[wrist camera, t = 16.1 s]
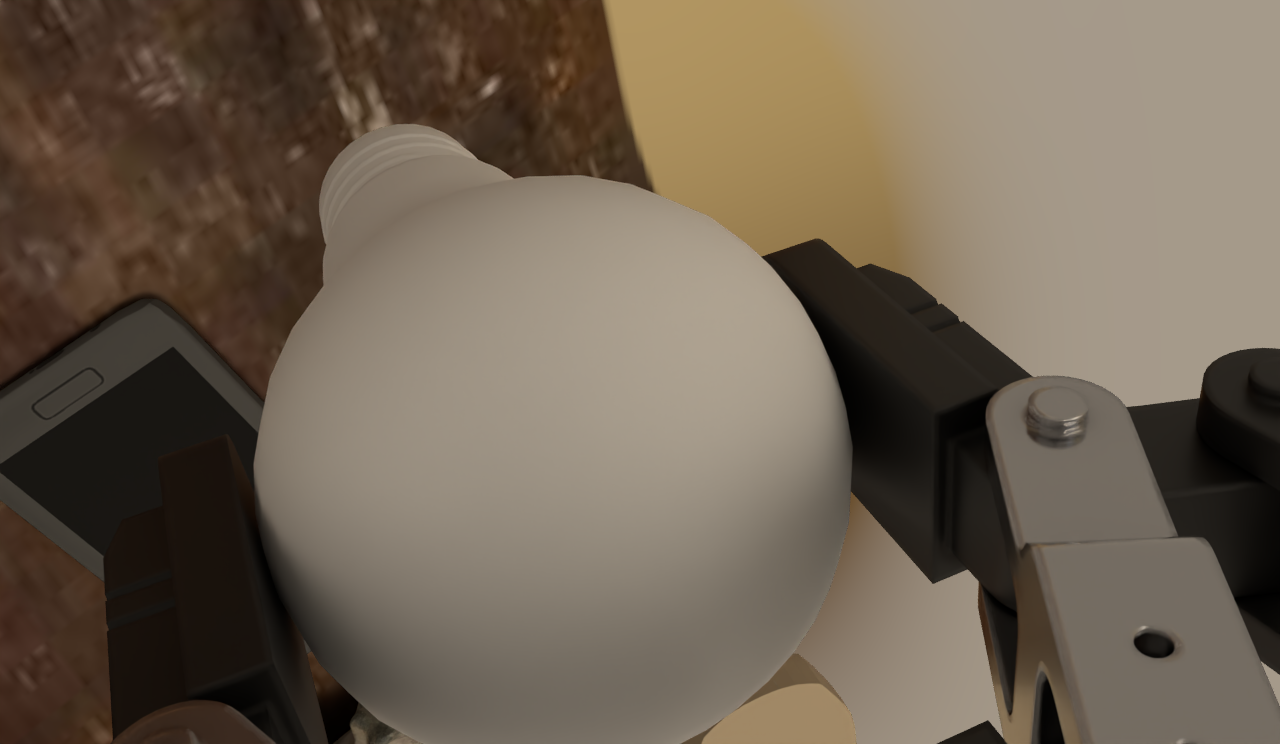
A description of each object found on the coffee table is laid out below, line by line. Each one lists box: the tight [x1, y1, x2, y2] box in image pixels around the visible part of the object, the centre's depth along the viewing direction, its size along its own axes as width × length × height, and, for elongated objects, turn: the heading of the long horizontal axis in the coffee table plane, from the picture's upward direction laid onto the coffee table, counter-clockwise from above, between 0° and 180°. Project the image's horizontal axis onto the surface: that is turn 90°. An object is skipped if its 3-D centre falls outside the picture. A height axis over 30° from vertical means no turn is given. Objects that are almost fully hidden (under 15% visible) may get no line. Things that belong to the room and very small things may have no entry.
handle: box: [681, 654, 857, 744], centre depth 38 cm, size 5×6×15 cm
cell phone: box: [0, 299, 311, 654], centre depth 38 cm, size 7×14×1 cm, turn 28°
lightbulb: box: [254, 124, 853, 744], centre depth 15 cm, size 6×6×11 cm
